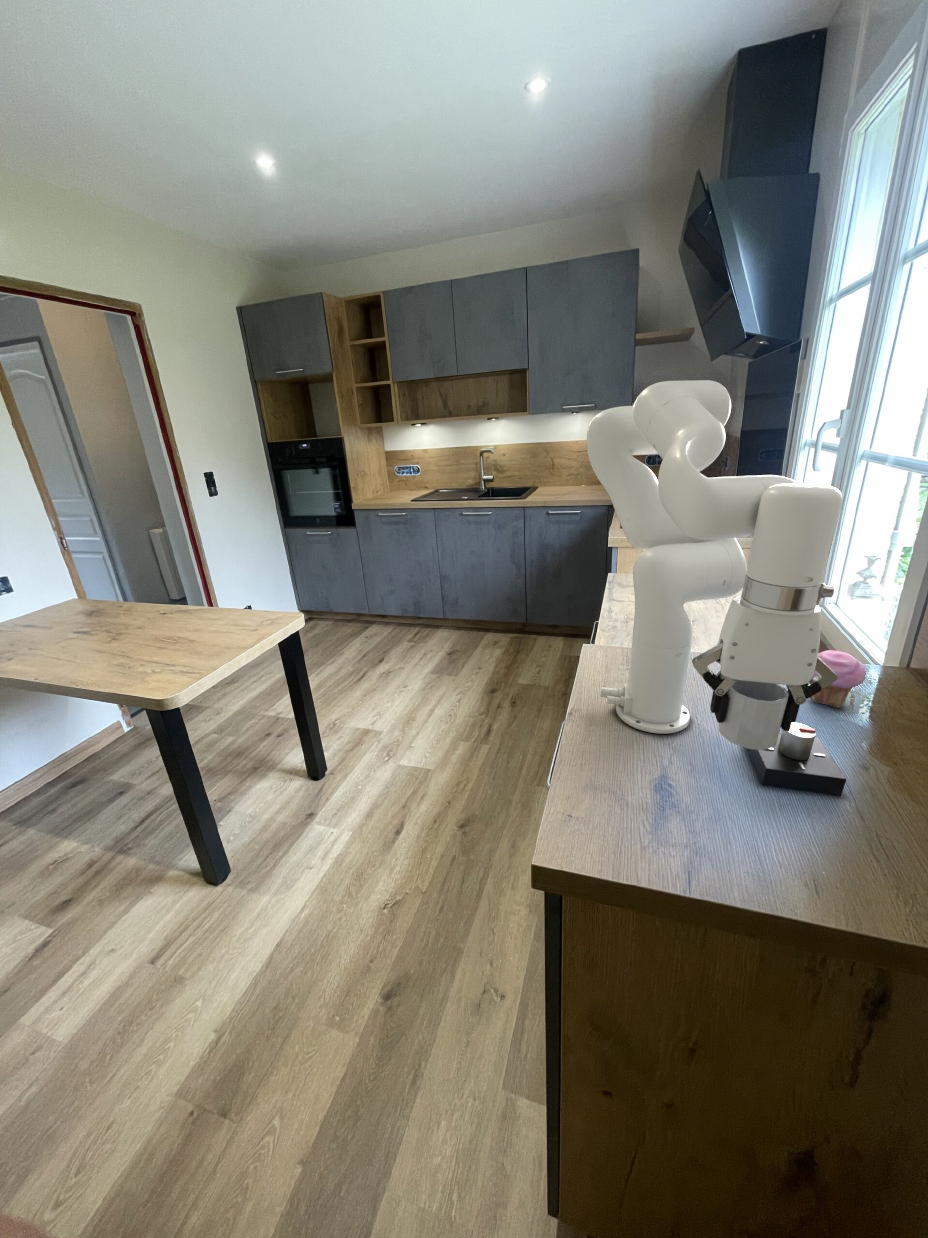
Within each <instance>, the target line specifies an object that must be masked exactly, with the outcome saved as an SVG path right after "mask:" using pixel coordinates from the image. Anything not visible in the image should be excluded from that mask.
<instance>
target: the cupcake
mask: <svg viewBox="0 0 928 1238" xmlns="http://www.w3.org/2000/svg"><path fill="white" fill-rule="evenodd" d="M818 657H819V658H820V659H821V660H822V661H823V662H824V663H825V664H826V665H827V666H828V667H829V668H830V669H832V670H833V671H834V673H835V674H836V675H837V676H838V679H837V680H836V681H835V682H833V683H831V684H830V685H828V686H827V687H825V688H822V689H821V691H820V692H819V693H817V694H815V695H813V696H811V697H809V699H810V700H811V701H812V702H814V703H818V704H821V705H826V706H830V707H833V708H838V709H840V708H842V707H843V706H844V705H845V702H846V700H847V697H848V695H849V693H850V692H851V691H852V689H853V688H856V687H858V686H860V685H862V684H863V683H864V681H866V675H867V671H866V667H865V665H864V664H863V663H862V662H861V661H859V660H858V659H857V658H856V657H854V656H853V655H851V654H849V653H848V652H844V651H841V650H832V649H826V650H824V651H821V652H818ZM817 673H818V672H817V671H816V670H814V674H813V677H812V678H814V676H816V675H817Z"/></svg>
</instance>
